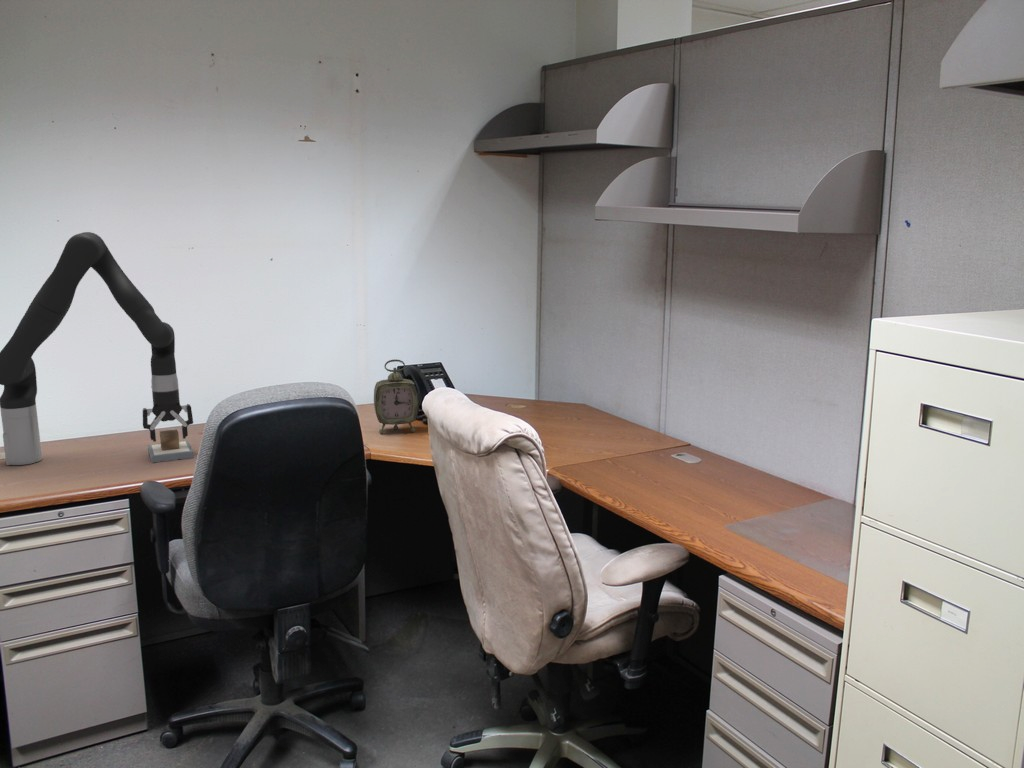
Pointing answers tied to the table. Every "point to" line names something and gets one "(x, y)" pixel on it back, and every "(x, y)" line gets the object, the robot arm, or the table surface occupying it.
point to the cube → (169, 440)
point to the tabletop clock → (395, 400)
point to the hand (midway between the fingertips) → (169, 439)
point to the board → (170, 452)
